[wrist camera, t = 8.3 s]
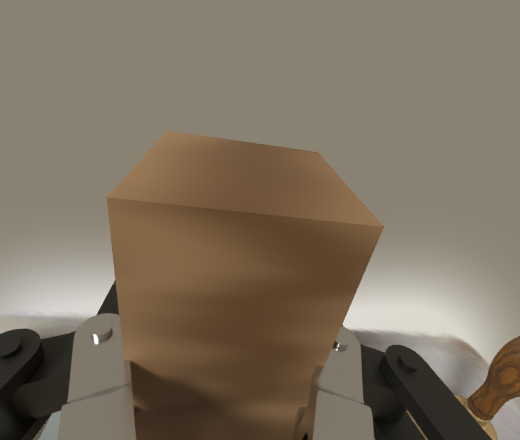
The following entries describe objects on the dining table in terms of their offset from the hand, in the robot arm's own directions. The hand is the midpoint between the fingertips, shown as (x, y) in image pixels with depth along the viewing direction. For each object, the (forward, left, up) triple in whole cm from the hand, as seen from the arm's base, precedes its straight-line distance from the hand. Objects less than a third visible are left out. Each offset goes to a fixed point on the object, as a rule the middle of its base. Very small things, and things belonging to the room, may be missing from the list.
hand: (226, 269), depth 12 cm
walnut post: (0, -3, -7) cm, 8 cm away
